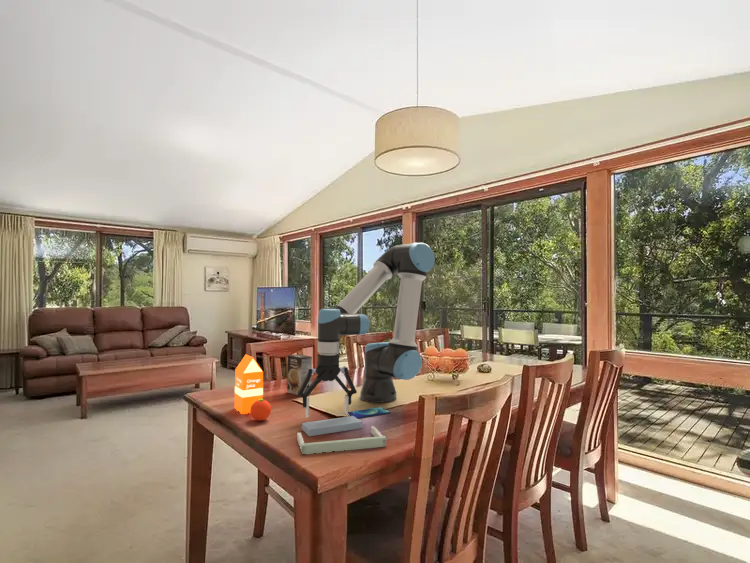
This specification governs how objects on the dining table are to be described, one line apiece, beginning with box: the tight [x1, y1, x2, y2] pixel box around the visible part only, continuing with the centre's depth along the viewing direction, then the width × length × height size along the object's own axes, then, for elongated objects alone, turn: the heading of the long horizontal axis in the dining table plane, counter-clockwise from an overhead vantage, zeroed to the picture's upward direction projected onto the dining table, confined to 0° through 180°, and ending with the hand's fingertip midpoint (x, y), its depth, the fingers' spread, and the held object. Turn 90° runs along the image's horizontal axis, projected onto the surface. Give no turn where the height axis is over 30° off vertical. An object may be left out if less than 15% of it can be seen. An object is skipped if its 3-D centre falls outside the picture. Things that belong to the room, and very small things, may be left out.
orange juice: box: [234, 353, 264, 415], centre depth 154 cm, size 8×9×20 cm
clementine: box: [249, 398, 272, 422], centre depth 142 cm, size 8×7×7 cm
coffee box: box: [286, 353, 313, 396], centre depth 180 cm, size 9×6×16 cm
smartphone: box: [348, 406, 391, 420], centre depth 151 cm, size 8×1×15 cm
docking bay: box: [296, 425, 387, 455], centre depth 122 cm, size 24×12×2 cm, turn 107°
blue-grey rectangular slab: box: [301, 415, 363, 437], centre depth 134 cm, size 18×7×2 cm, turn 118°
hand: (326, 415), depth 143 cm, fingers open, 13 cm apart
